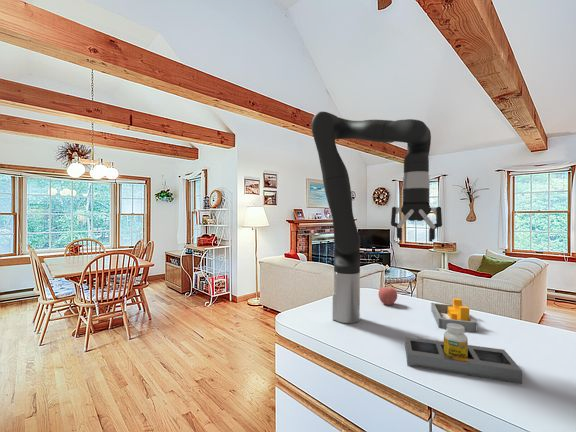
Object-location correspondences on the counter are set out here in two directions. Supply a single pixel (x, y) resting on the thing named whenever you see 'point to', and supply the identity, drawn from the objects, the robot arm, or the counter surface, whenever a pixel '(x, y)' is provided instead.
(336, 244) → the robot arm
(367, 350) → the counter surface
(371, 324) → the counter surface
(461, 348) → the supplement bottle
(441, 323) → the clamp tray
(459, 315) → the pipe clamp
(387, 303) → the apple
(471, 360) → the three-compartment grey tray
